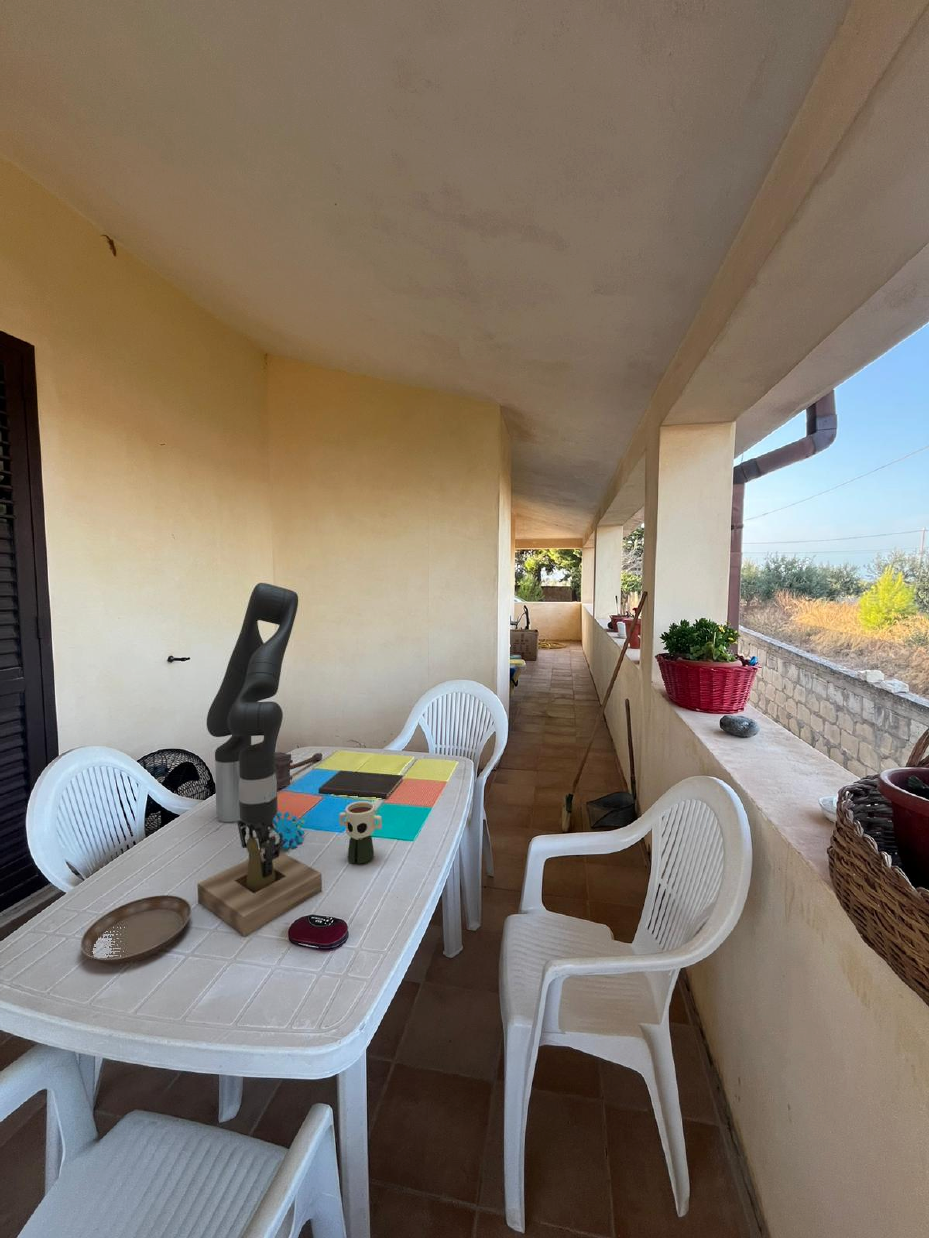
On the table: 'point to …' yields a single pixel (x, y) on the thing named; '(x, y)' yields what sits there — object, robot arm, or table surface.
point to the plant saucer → (139, 928)
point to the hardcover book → (361, 784)
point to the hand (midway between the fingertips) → (260, 871)
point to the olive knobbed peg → (257, 868)
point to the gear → (289, 829)
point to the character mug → (360, 829)
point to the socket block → (258, 893)
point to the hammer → (288, 767)
